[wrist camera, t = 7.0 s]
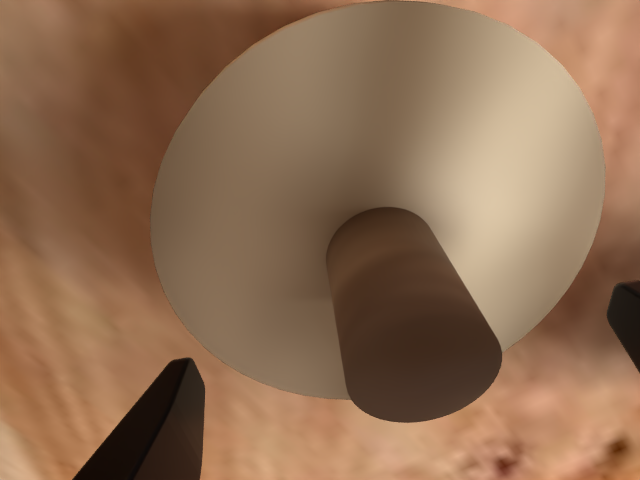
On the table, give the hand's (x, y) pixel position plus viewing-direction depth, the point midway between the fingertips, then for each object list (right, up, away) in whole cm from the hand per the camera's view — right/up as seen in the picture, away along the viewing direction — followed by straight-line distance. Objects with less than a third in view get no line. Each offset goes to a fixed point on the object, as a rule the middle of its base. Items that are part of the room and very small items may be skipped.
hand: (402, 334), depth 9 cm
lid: (0, +2, +3) cm, 4 cm away
